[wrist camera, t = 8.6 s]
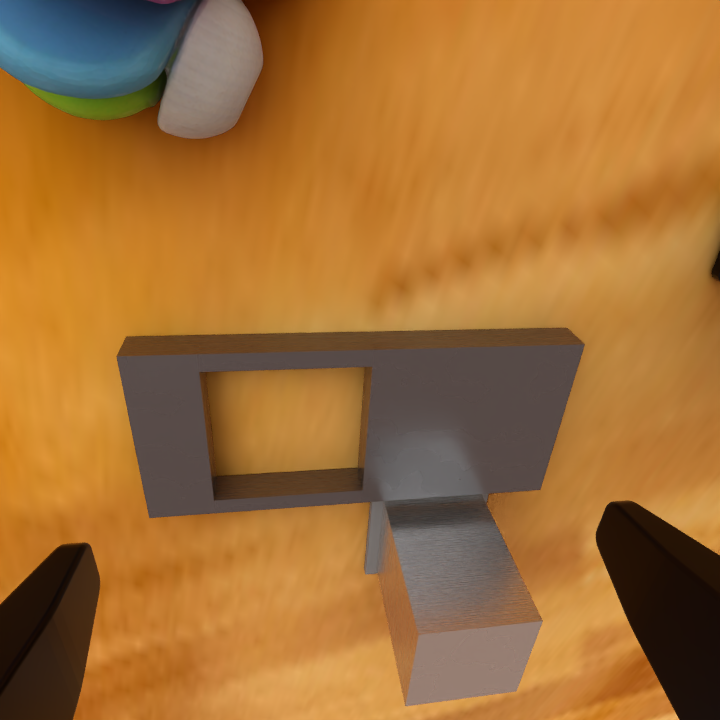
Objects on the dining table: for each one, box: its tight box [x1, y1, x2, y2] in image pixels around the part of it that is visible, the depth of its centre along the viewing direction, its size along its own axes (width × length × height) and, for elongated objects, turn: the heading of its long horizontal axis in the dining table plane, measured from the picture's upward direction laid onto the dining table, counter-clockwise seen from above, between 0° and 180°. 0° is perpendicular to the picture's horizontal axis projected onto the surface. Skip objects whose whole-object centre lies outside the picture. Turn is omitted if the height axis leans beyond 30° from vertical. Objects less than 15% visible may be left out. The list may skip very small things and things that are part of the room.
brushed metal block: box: [376, 494, 543, 706], centre depth 24 cm, size 5×5×7 cm
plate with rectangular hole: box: [117, 328, 585, 518], centre depth 23 cm, size 18×8×2 cm, turn 87°
